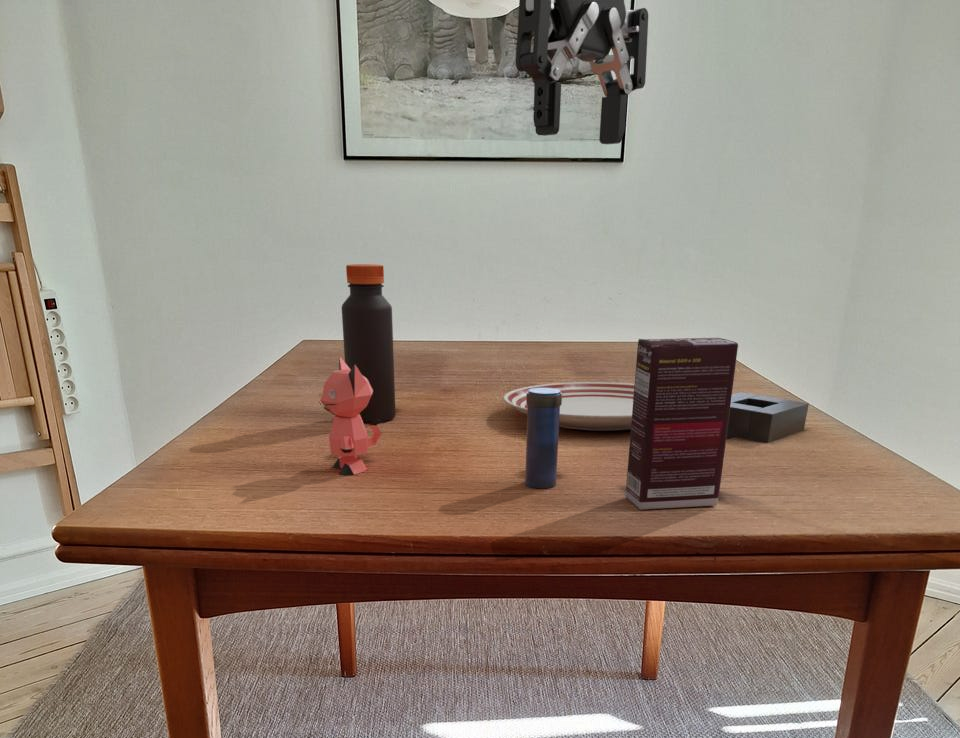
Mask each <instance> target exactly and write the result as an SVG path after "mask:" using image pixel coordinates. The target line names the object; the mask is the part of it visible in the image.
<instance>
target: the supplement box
mask: <svg viewBox="0 0 960 738" xmlns="http://www.w3.org/2000/svg"><path fill="white" fill-rule="evenodd" d="M738 349H739V343H738V342H736V341H734V340H730V339H727V338H726V339H725V338H722V337H692V338H689V337H688V338H687V337H686V338H638V340H637V349H636V350H637V351H636V360H635V361H636V362H635V374H634V384H635V385H634V396H633V409H632V422H631V430H630V436H629V447H628V448H629V449H628V461H627V472H626V483H625V498H627V499H628V500H629V501H630V502H631V503H632V504H633V505H634V506H635V507H636V508H638V509H639V510H640V511H643V510H658V509H659V510H661V509H674V508H679V509H680V508H693V507H712V506H718V504H719V497H720V490H721V482H722V474H723V467H724V462H725V461H724V460H725V459H724V458H725V453H726V443H727V440H726V437H727V429H728V422H729V413H730V405H731V397H732V395H733V389H734V388H733V387H734V381H735V372H736V367H737V366H736V365H737V359H738V358H737V357H738Z"/></svg>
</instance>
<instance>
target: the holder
mask: <svg viewBox="0 0 960 738" xmlns="http://www.w3.org/2000/svg"><path fill="white" fill-rule="evenodd" d="M809 404H810V403H809V402H805V401H798V400H797V401H796V400H791V399H785V398H778V397H772V396H765V395H760V394H759V395H758V394H753V393H748V392H747V393H746V392H741V391H740V392H736V393H732V397H731V405H730V413H729V422H728V429H727V437H726V441H727V440H731V439H733V438H740V439H744V440H745V439H746V440H751V441H755V442H760V443H766V444H769V443H772V442H775V441H777V440H781V439H783V438H788V437H790V436H792V435H795V434H797V433H801V432H803V431H805V426H806V422H807V416H808V410H809V406H810V405H809Z"/></svg>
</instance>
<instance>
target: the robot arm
mask: <svg viewBox="0 0 960 738" xmlns="http://www.w3.org/2000/svg"><path fill="white" fill-rule="evenodd" d="M518 2H519V4H518V5H519V6H518V18H517V19H518V20H517V33H516V34H517V35H516V38H517V39H516V51H515V68H516V70H517V71H518V72H520V73H523V72H524V73H526V74H527V75H528V76H530V80H531V82H532V83H533V84H534V86H533V87H534V88H533V89H534V90H533V117H532V119H533V124H534V127H535V134H536V135H537V136H542V137H547V136H555V135H558V133H559V131H560V124H561V123H560V122H561V104H562V103H561V101H562V99H561V97H562V82H557V81H559V80H560V79H561V77H562V74H563V73H564V71H565V69H566V67H567V65H568V63H569V62H570V60H572V59H574V58H577V59H579V60H580V61H581V62H587V63H588V64H589V67H590V69H591V71H592V72H593V74H595V75H596V76H597V77H598V80H599V83H600V86H601V90H602V92H603V94H604V96H603V97H601V105H600V121H599V122H600V123H599V142H600V144H601V145H616V144H621V142H622V141H623V137H624V134H625V130H626V117H627V116H626V115H627V104H628V102H627V101H628V97H629V95H630V93H632V92H633V91H636V90H639V89H643V88H644V87H645V85H646V76H647V75H646V74H647V56H648V55H647V54H648V36H649V35H648V33H649V12H648V9H647V8H646V7H642V8H635V9H628V8H626V5H625V0H519V1H518ZM550 23H551V25H550ZM532 40H533V47H532ZM611 52H612V54H609V53H611ZM632 59H633V73H630V62H631V60H632ZM612 72H613V73H614V74H615V75H614V76H615V79H614V77H613V74H612Z"/></svg>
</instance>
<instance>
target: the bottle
mask: <svg viewBox="0 0 960 738" xmlns="http://www.w3.org/2000/svg"><path fill="white" fill-rule="evenodd" d="M345 270H346V272H345V273H346V283H347V288H349V295H348V297H346V299H345V300H344V301H343V303H342V304H341V320H342V336H343V337H342V338H343V354H344V355H343V356H344V362H345V363H346V364H347V366H348V367H349V368H350V369H352V368H353V366H354V365H356V366H357V368H358V369H359V371H360V373H361V374H362V375H363V376H364V377H365V378H367V379H368V381H369V383H370V385H371V387H372V389H373V393H372V396H371V398H370V400H369V403H368V405H367V407H366V408H364V409H363V410H362V411H361V412H360V413H359V414H360V416H361V418H362V421H363V423H369V424H370V423H371V422H372V421H373V420H374V419H378V420H380V421H381V422H380V423H383V422H384V423H385V422H390V421H392V420H394V419H395V417H396V391H395V390H396V388H395V386H396V385H395V383H396V382H395V361H394V360H395V359H394V358H395V357H394V330H393V328H394V327H393V307H392V305H391V303H390V302H389V301H388V300H387V299H386V298H385V296H384V295H383V288H384V284H385V275H384V273H385V271H384V270H385V269H384V265H383V264H374V263H373V264H371V263H369V264H368V263H355V264H353V263H352V264H347V265H346V266H345Z"/></svg>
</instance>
